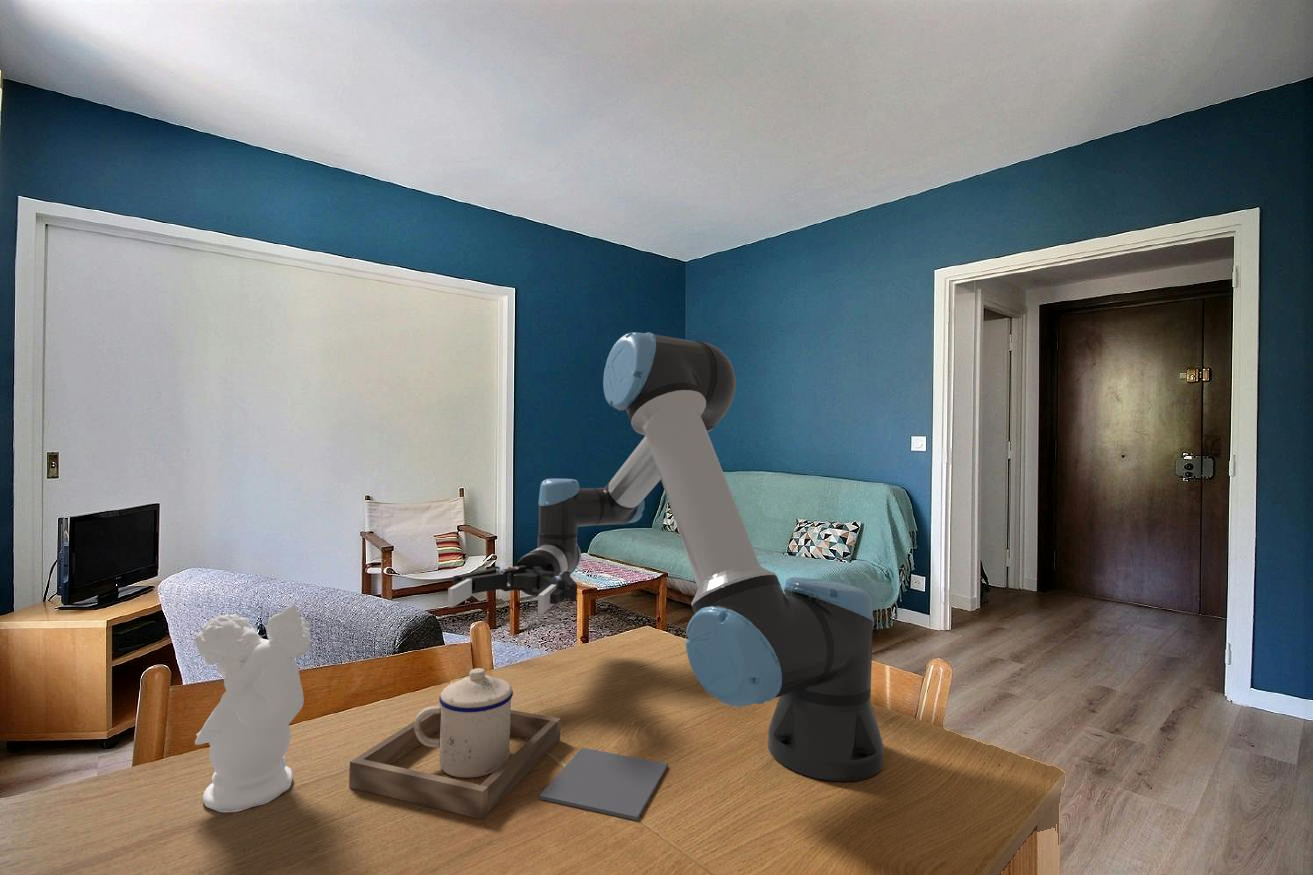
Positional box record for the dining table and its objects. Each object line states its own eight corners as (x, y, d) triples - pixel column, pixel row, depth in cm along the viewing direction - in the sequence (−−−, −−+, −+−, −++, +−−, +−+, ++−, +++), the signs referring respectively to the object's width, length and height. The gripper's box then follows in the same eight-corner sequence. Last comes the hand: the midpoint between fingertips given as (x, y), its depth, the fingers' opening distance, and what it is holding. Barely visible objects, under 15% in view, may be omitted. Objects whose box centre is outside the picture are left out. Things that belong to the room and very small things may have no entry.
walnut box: (559, 740, 85) (560, 718, 85) (482, 818, 67) (482, 791, 67) (448, 719, 91) (449, 699, 91) (349, 787, 73) (349, 761, 73)
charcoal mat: (667, 766, 79) (667, 763, 79) (637, 820, 68) (637, 816, 68) (581, 750, 83) (582, 747, 83) (539, 798, 71) (539, 795, 71)
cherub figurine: (174, 805, 68) (178, 606, 69) (267, 751, 80) (270, 582, 81) (266, 821, 66) (270, 614, 66) (348, 763, 78) (351, 588, 78)
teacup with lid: (510, 741, 85) (513, 656, 85) (511, 776, 76) (514, 681, 76) (418, 748, 82) (420, 661, 82) (407, 786, 73) (410, 687, 73)
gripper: (608, 596, 109) (578, 633, 88) (473, 586, 112) (412, 620, 91) (610, 553, 109) (580, 580, 88) (475, 545, 112) (414, 569, 91)
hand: (494, 601), depth 89 cm, fingers open, 13 cm apart
